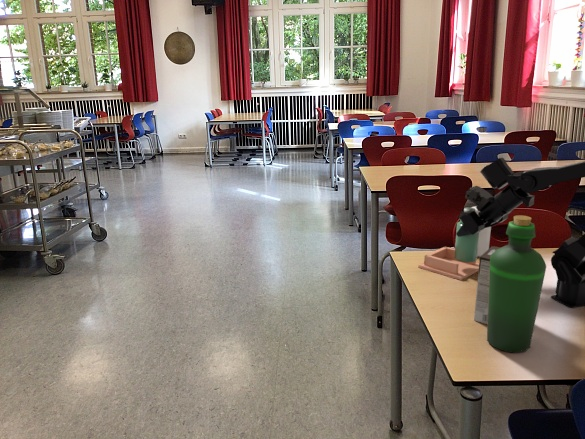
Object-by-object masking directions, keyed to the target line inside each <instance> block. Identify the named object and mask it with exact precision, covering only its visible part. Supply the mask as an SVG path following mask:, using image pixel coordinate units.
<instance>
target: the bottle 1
mask: <svg viewBox="0 0 585 439" xmlns="http://www.w3.org/2000/svg"><path fill="white" fill-rule="evenodd" d="M469 210H473V211H475V208H471V207H464V209H463V213H464V212H466V211H469ZM459 220H460V221H457V222H456V233H457V232H458V230H459V229H460V228H461V226H462V225H463V222H462V221H461V219H460V218H459ZM478 241H479V233H476V234H474V235H472V234H470V235H465V236H460V237H458V236H457V234H456V235H455V244H454V249H455V256H454V258H455V259H456V260H458V261H461V262H475V261H476V262H477V260H478V257H477V252H478Z"/></svg>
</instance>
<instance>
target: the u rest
mask: <svg viewBox="0 0 585 439" xmlns="http://www.w3.org/2000/svg"><path fill="white" fill-rule="evenodd" d="M454 256H455V248H453V247H449V246H443V247H441V248H439V249H437V250H434V251H432V252H429V253H427V254H425V255H424V261H423V262H422V263H420V264H418V268H419V269H423V270H425V271H429V272H432V273H436V274H439V275H443V276H445V277H448V278H452V279H456V280H460V281H463V280H465V279H466V278H468V277H470V276H472V275H473V274H475V273H478V272H479V262H477V260H476V261H475V262H461V261H458V260H456V259H455V258H454Z"/></svg>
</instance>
